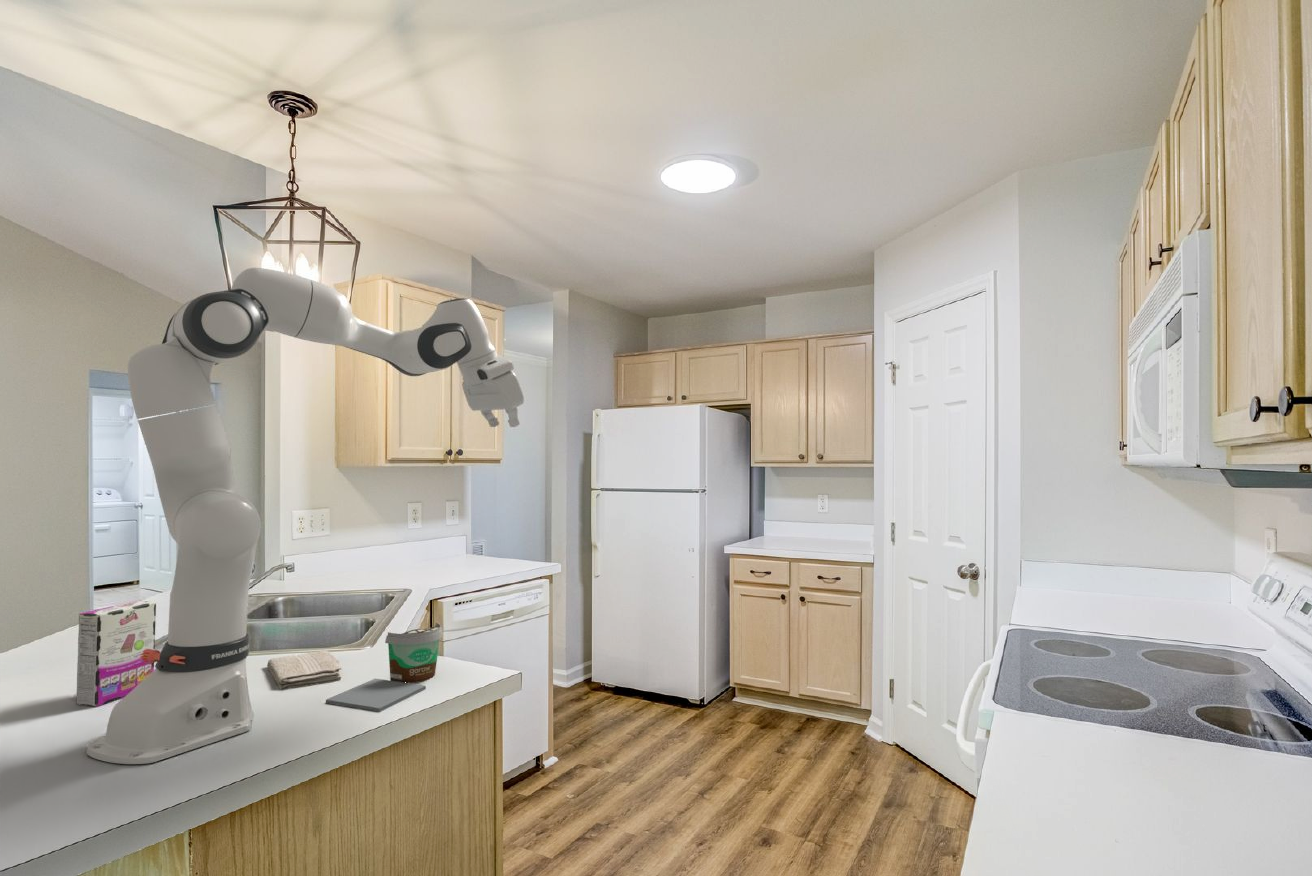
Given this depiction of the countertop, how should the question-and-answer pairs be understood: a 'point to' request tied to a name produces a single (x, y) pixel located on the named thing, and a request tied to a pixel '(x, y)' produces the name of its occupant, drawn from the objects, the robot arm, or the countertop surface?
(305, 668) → the washcloth
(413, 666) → the food container
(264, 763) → the countertop surface
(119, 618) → the candy bar box
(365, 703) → the mat
